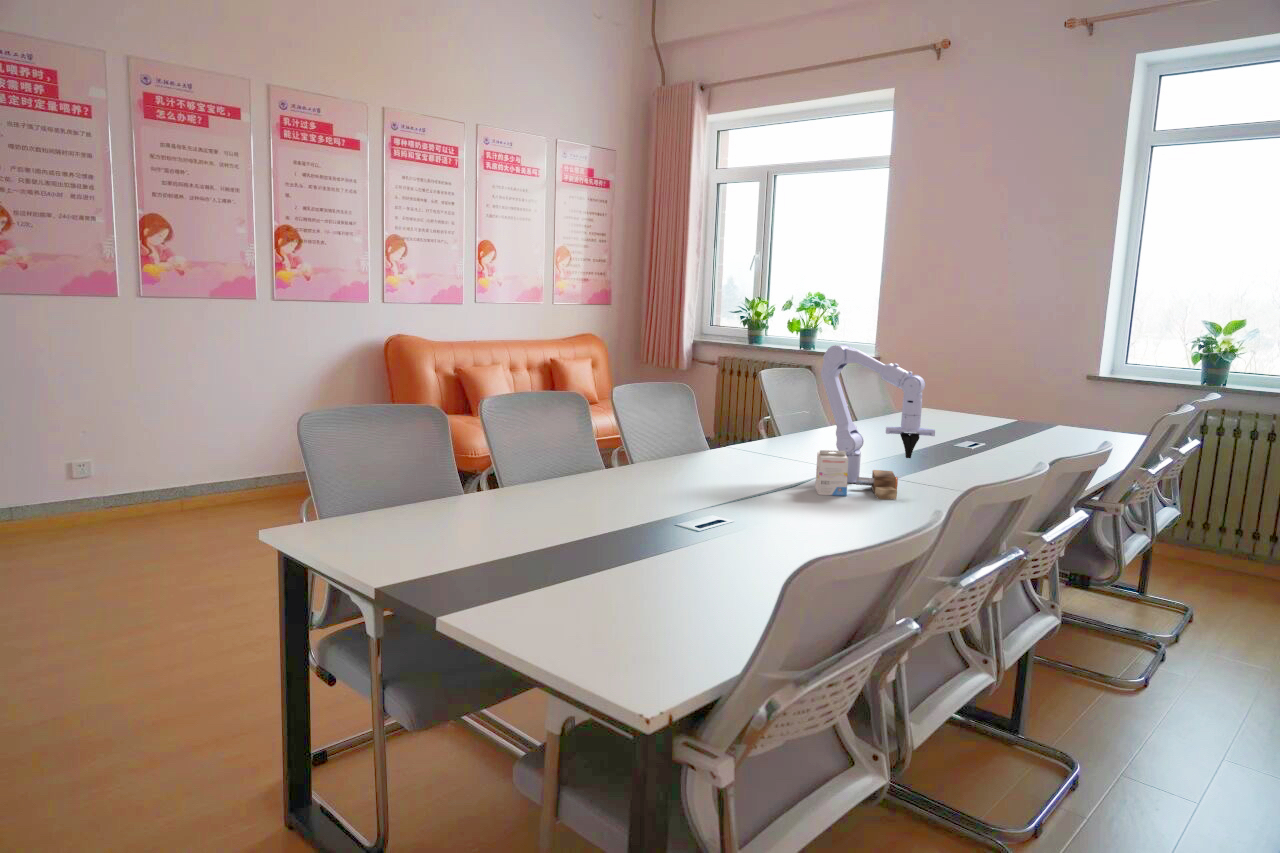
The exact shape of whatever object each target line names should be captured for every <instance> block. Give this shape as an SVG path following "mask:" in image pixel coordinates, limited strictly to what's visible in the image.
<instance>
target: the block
mask: <svg viewBox="0 0 1280 853" xmlns="http://www.w3.org/2000/svg"><path fill="white" fill-rule="evenodd" d="M897 495H898V489H897V490H896V489H894V488H892V487H875V494H874V497H875V496H876V497H875V498H877V497H878V498H877V499H879V500H897Z"/></svg>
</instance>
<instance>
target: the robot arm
mask: <svg viewBox="0 0 1280 853" xmlns="http://www.w3.org/2000/svg"><path fill="white" fill-rule="evenodd" d="M848 364H858V365H861V366H863V367H865V368H867V369H869V370H872V371H874V372H876V373H878V374H879V375H880V377H881V380H883V381H885V382H887V383H888V384H891V385H892V386H894V387H896V388H898V389H901V391H903V396H902V397H903V398H902V406H901V407H902V409H901V410H902V411H901V421H900V426H885V434H886V435H890V434H891V435H900V437H901V440H902V445H903V447H904V452H905V454H904V455H905V458H906V459H911V458H912V455H913V453H914V452H913V451H914V449H915V447H916V445H917V443H918V442H919V440H920V436H926V437H927V436H928V437H930V436H931V437H936V429H933V428H923V427H921V421H922V410H923V409H922V408H923V391H924V389H925V388H926V382H925V379H924V378H923V377H922V376H921V375H920V374H913V371H911V370H910V371H908V370H906V369H904V368H902V367H900V365H899V363H896V362H895V363H887V364H885V363H883V362H881V361H880V360H877V359H876V358H874V357H872V356H871V355H868V354H867V353H865V352H864V351H862V350H859V349H857V348H856V347H853V346H852V347H851V346H850V345H848V344H840V345H837V344H836V345H831V346H830V347H829V348H828V349H827V350H826V351H825V353H824V354H823V362H822V367H821V371H820V376H821V380H822V384H823V386H824V390H825V394H826V397H827V400H828V403H829V405H830V406H829V407H830V410H831V413H832V416H833V420H834V422H835V425H836V428H835V429H836V430H835V436H836V441H835V443H836V444H835V445H836V449H837V451H846V456H847V458H848V477H847V484H848V483H849V484H850V483H852V484H856V480H857V477H860V470H861V456H862V454H861V453H862V452H861V451H860V450H861V448H862V447H863V445H864V441H865V440H864V437H863V435H862V434H861V433H860V432H859V430H858V427H857V426H856V424H855V423H854V422H853V419H852V416H851V412H850V410H849V407H848V404H847V400H846V397H845V393H844V391H843V387H842V383H841V381H840V378H839V376H840V374H841V372H842V371H843V369H844V368H845V367H846V366H847V365H848Z"/></svg>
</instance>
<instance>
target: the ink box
mask: <svg viewBox="0 0 1280 853" xmlns="http://www.w3.org/2000/svg"><path fill="white" fill-rule="evenodd" d="M816 456H817V457H816V469H815V470H816V472H815V491H816V493H817V495H818V496H837V497H838V496H840V497H841V496H843V497H844V496H845V497H847V496H848V483H847V477H848V458H847V456H846V451H839V450H827V449H825V450H822V449H821V450H819V451H818V452H817V455H816Z"/></svg>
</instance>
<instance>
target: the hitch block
mask: <svg viewBox="0 0 1280 853" xmlns="http://www.w3.org/2000/svg"><path fill="white" fill-rule="evenodd" d="M896 477H897V476H896V475H895V474H894V471H893V470H881V469H880V470H879V469H872V473H871V478H874V486H871V488H872V493H873V494H874V495H875V487H892V488H894V489H895V482H896Z"/></svg>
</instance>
